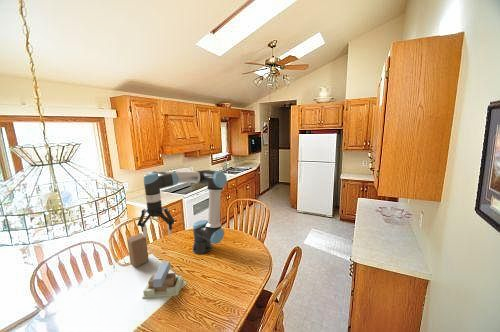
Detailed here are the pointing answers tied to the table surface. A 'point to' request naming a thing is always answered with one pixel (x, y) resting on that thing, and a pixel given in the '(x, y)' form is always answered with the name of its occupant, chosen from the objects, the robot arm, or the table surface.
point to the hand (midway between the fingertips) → (157, 235)
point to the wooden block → (137, 249)
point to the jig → (169, 291)
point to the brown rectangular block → (168, 282)
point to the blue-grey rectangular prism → (161, 274)
